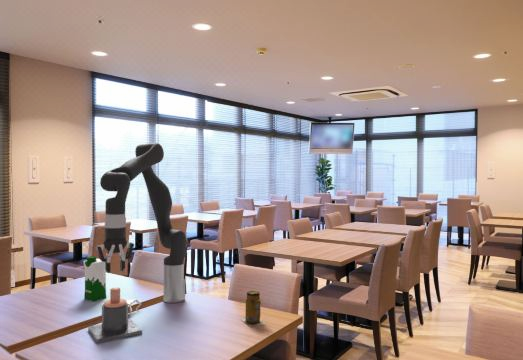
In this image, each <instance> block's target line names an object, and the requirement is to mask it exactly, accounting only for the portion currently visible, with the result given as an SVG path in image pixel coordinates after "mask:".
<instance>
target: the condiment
mask: <svg viewBox="0 0 523 360" xmlns="http://www.w3.org/2000/svg"><path fill="white" fill-rule="evenodd" d="M260 296H261V295H260V291H257V290H249V291H247V292H246V298H245V316H244V317H245V318H241V319H240V320H241V321H242V322H244V324H246V325H247V326H249V327H256V326H261V325H262V326H263V325H266V324H267V323H265V322H264V321H263V320H261V304H262V303H261V297H260Z"/></svg>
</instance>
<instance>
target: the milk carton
mask: <svg viewBox="0 0 523 360" xmlns="http://www.w3.org/2000/svg"><path fill="white" fill-rule="evenodd" d="M82 263H83V268H84V298H83V299H84V300H87V301H90V302H97V301H100V300H103V299H106V298H107V287H106V283H107V278H106V277H107V276H106V275H107V274H106V273H107V271H106V270H105V262H102V261H101V260H100V258H97V256H95V255H91V256H87V257H86V260H83V262H82Z"/></svg>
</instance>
